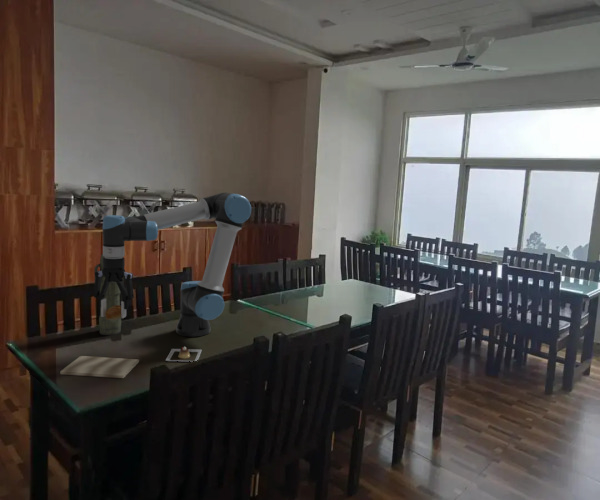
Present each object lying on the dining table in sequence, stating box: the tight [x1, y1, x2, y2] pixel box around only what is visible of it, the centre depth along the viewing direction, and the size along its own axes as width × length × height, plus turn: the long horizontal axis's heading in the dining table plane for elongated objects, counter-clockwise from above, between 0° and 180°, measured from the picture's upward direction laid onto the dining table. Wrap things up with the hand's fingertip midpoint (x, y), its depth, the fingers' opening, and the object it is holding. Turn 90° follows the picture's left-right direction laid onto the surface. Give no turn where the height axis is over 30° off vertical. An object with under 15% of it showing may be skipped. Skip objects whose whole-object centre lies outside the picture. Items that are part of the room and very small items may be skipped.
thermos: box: [93, 253, 125, 336], centre depth 199 cm, size 9×12×35 cm
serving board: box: [59, 355, 140, 379], centre depth 165 cm, size 22×14×1 cm, turn 88°
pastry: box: [105, 305, 122, 320], centre depth 173 cm, size 9×7×4 cm
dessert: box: [165, 346, 203, 363], centre depth 179 cm, size 12×12×5 cm
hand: (113, 316), depth 174 cm, fingers closed on pastry, 7 cm apart
